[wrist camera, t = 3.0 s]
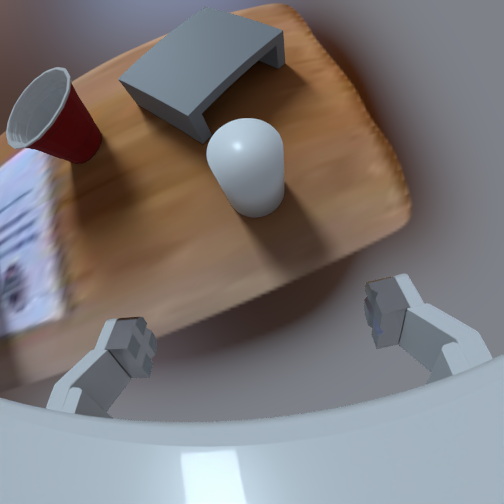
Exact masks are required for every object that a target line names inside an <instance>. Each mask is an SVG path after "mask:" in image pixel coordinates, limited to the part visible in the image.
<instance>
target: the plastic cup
mask: <svg viewBox="0 0 504 504" xmlns="http://www.w3.org/2000/svg"><path fill="white" fill-rule="evenodd" d="M6 135H7V140H8V144H9V145H10V146H12V147H13V148H15V149H20V148H30V149H36V150H39V151H41V152H44V153H47V154H49V155H52V156H55V157H58V158H60V159H61V158H62V159H65V160H67V161H70V162H72V163H76V164H78V163H84V162H86V161H88V160H89V159H90V158H91V157H92V156H93V155H94V154H95V153H96V151H97V150H98V148H99V146H100V143H101V133H100V131H99V129H98V127H97V126H96V124H95V123H94V121H93V119H92V117H91V115H90V114H89V112H88V111H87V109H86V107H85V106H84V104H83V103H82V101H81V100H80V98H79V97H78V95H77V93H76V91H75V89H74V87H73V85H72V83H71V78H70V75H69V74H68V72H67V70H66V69H64V68H59V67H56V68H53V69H50V70H47V71H46V72H44V73H43V74H41V75H40V76H38V77H37V78H36V79H34V80H33V81H32V83H31V84H30V85H29V86H28V87H27V88H26V89H25V90H24V91H23V93H22V94H21V96H20V97H19V99H18V101H17V102H16V104H15V105H14V107H13V110H12V112H11V115H10V118H9V120H8V126H7V132H6Z"/></svg>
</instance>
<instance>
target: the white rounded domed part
mask: <svg viewBox="0 0 504 504" xmlns="http://www.w3.org/2000/svg"><path fill="white" fill-rule="evenodd" d="M207 161H208V164H209V166H210V168H211V170H212V172H213V174H214V176H215V177H216V179H217V181H218V183H219V184H220V186H221V188H222V190H223V191H224V193H225V195H226V197H227V199H228V200H229V202H230V204H231V205H232V207H233V208H234V209H235V210H236V211H237V212H238V213H240V214H242V215H244V216H247V217H255V218H256V217H263V216H266V215H268V214H270V213H272V212H273V211H275V210H276V209H277V208H278V207H279V205H280V204H281V202H282V200H283V197H284V192H285V186H284V153H283V143H282V139H281V137H280V135H279V133H278V132H277V131H276V130H275V128H273V127H272V126H271V125H270V124H268V123H266V122H264V121H262V120H258V119H253V118H242V119H237V120H233V121H231V122H228V123H226V124H225V125H223V126H222V127H220V128H219V129H218V130H217V131H216V132H215V133H214V134H213V136H212V137H211V139H210V141H209V143H208V147H207Z"/></svg>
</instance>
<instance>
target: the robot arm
mask: <svg viewBox="0 0 504 504" xmlns="http://www.w3.org/2000/svg"><path fill="white" fill-rule="evenodd" d="M365 292H366V295H367V297H366V299H365V300H364V310H365V316H366V320H367V323H368V325H369V326H370V327H372V337H373V340H374V343H375V346H376V349H379V348H383V347H388V346H393V345H397V344H399V346H400V347H402V348H403V349H404V350H405V351H406V352H407V353H409V354H410V355H411V356H412V357H413V358H415V359H416V360H417V361H418V362H419V363H420V364H422V365H423V366H424V367H425V368H426V369H428V370H429V371H430V372H431V374H430V376H429V378H428V380H427V383H426V385H423V386H420V387H417V388H414V389H410V390H407V391H403V392H400V393H396V394H393V395H389V396H385V397H381V398H377V399H374V400H369V401H365V402H361V403H356V404H352V405H347V406H342V407H337V408H332V409H326V410H320V411H314V412H309V413H302V414H295V415H287V416H279V417H270V418H261V419H250V420H235V421H216V422H156V421H135V420H122V419H114V418H113V417H111V416H110V415H109V414H108V413H107V411H108V409H109V408H110V407H111V405H112V404H113V403H114V401H115V400H116V399H117V397H118V396H119V395H120V394H121V392H122V391H123V390H124V388H125V387H126V386H127V384H128V383H129V382H130V380H131V378H147V377H148V378H149V377H150V374H151V370H152V366H153V363H152V361H151V358H152V357H153V356H154V355H155V353H156V349H157V347H156V339H155V336H154V334H153V332H152V331H151V330H149V329H147V328H146V325H147V323H146V321H145V320H144V318H143V317H130V318H119V319H109V320H107V321H106V323H105V325H104V327H103V330H102V332H101V334H100V337H99V339H98V342H97V344H96V347H95V349H94V350H91V351H90V352H89V353H88V354H87V355H86V356H85V357H83V358H82V359H81V360H80V361H79V362H78V363H77V364H76V365H75V366H74V367H73V368H72V369H71V370H70V371H69V372H67V373H66V374H65V375H64V376H63V377H62V378H61V379H60V380H59V381H58V382H57V383H56V384H55V385H54V388H53V391H52V393H51V396H50V398H49V401H48V404H47V406H46V408H40V407H36V406H32V405H27V404H23V403H19V402H15V401H11V400H7V399H4V398H0V504H504V354H502V355H500V356H498V357H496V358H494V359H493V358H492V356H491V354H490V353H489V350H488V349H487V347H486V345H485V343H484V341H483V340H482V338H481V336H480V334H479V333H478V332H477V331H475V330H474V329H472V328H470V327H469V326H467V325H465V324H463V323H462V322H460V321H458V320H457V319H455V318H453V317H451V316H450V315H448V314H446V313H444V312H443V311H441V310H439V309H437V308H436V307H434V306H432V305H430V304H424V302H423V300H422V299H421V297H420V295H419V293H418V292H417V290H416V288H415V287H414V285H413V283H412V281H411V280H410V278H409V277H408V275H407V274H400V275H396V276H393V277H388V278H383V279H379V280H374V281H369V282H366V285H365Z"/></svg>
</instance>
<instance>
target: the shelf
mask: <svg viewBox="0 0 504 504" xmlns="http://www.w3.org/2000/svg"><path fill="white" fill-rule="evenodd" d="M258 60H259V61H262V62H264V63H266V64H268V65H271V66H273V67H275V68H277V69H279V68H280V67H281V66H282V65H284V64H285V52H284V37H283V30H280V29H277V28H274V27H272V26H269V25H266V24H263V23H260V22H257V21H254V20H251V19H248V18H244V17H241V16H238V15H234V14H231V13H227V12H223V11H219V10H215V9H212V8H207V7H205V8H203V9H201V10H200V11H199V12H197V13H196V14H194V15H193V16H192V17H190V18H189V19H188V20H186V21H185V22H183V23H182V24H181V25H180V26H178V27H177V28H176V29H174V30H173V31H172V32H170V33H169V34H168V35H167V36H165V37H164V38H163V39H162V40H161V41H159V42H158V43H157V44H156V45H155V46H153V47H152V48H151V49H150V50H149V51H148V52H146V53H145V54H144V55H143V56H142V57H141V58H140V59H139V60H137V61H136V62H135V63H134V64H133V65H132V66H131V67H130V68H129V69H128V70H127V71H126V72H125V73H124V74H123V75H122V76H121V77H120V78H119V81H120V82H121V83H122V85H123V86H124V87H125V89H126V90H127V91H128V93H129V94H130V95H131V97H132V98H133V99H134V101H135V102H136V103H137V105H139V106H141V107H142V108H144V109H146V110H148V111H149V112H151V113H153V114H154V115H156V116H158V117H159V118H161V119H163V120H164V121H166V122H168V123H169V124H171V125H173V126H174V127H176V128H178V129H179V130H181V131H183V132H184V133H186V134H187V135H189V136H191V137H192V138H194V139H195V140H197V141H199V142H200V143H202V144H204V143H205V142H206V141H207V140H208V139H209V138H210V137H211V136H212V135H211V132H210V130H209V128H208V126H207V124H206V122H205V120H204V117H203V115H202V113H203V112H204V111H205V110H206V109H207V108H208V107H209V106H210V105H211V104H212V103H213V102H214V101H215V100H216V99H217V98H218V97H219V96H220V95H221V94H222V93H223V92H224V91H225V90H226V89H227V88H229V87H230V86H231V85H232V84H233V83H234V82H235V81H236V80H237V79H238V78H239V77H240V76H241V75H243V74H244V73H245V72H246V71H247V70H248V69H249V68H250V67H251V66H253V65H254V64H255V63H256V62H257V61H258Z"/></svg>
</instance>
